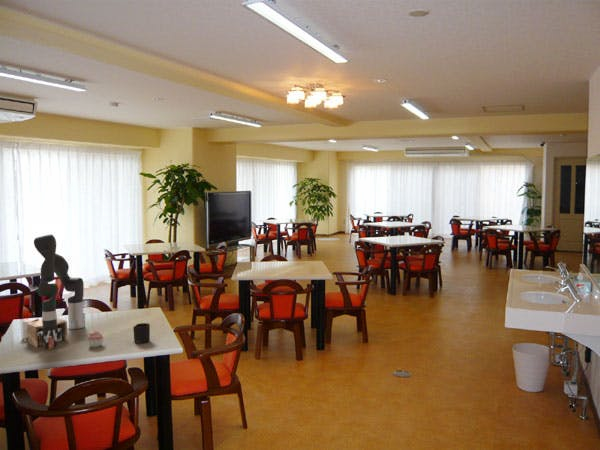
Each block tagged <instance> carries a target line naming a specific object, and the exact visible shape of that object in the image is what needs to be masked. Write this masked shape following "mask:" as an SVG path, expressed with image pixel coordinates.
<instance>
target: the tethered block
mask: <svg viewBox="0 0 600 450" xmlns="http://www.w3.org/2000/svg"><path fill="white" fill-rule="evenodd" d="M44 336H45V334H43V335H42V337H43V339H44ZM39 346H40V347H41V346H44V347H45V343H44V342H41V341H40V339H39V336H38V347H39ZM53 350H55V347H54V337H53V336H49V339H48V349H47V351H53Z"/></svg>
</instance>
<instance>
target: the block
mask: <svg viewBox="0 0 600 450" xmlns="http://www.w3.org/2000/svg"><path fill="white" fill-rule="evenodd" d="M55 334H56V337H57V334H58V331H57V332H56V333H55ZM62 341H63V339H62V334H61V337H60V339H58V340H57V343H58V342H62Z"/></svg>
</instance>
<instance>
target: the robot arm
mask: <svg viewBox="0 0 600 450" xmlns="http://www.w3.org/2000/svg"><path fill="white" fill-rule="evenodd" d="M33 244H34V247H35V249H36V251H37V252H38V253H39V254H40V255H41V256H42V258H44V260H43V262H42V264H41V266H40V282H39V284H38V288H37V294H38V296H40V297H43V298H45V297H50V298H49V299H46V300H43V301H42V302H41V305H42V306H41V309H42V311H41V312H42V313H41V314H42V315H41V320H42V325H43V329H42V331H41V332H38V333H37V334H38V336H39V339H40V341H41V342H44V343H45V346H44V348H45V349H46V350H48V339H49V336H53V337H54V348H57V347H58V346H57V345H58V342H57V340H58V339H60V337H61V334H62V331H63V329H61V328H58V327H57V317H58V315H57V310H56V309H57V304H56V303H57V298H58V297H57V296H58V293H59V286H58V284H57V283H51V282H53V281H55V274H56V276H57V278H58V279H59V280H60V282H61V285H62V287H63V288H64V289H65V290H66V292H70V293H71V292H72V293H74V295H73V296H69V297H68V298H67V313H68V314H67V315H68V316H67V317H68V329H69V330H79V329H83V328H85V327H86V317H85V316H86V315H85V312H84V295H85V294H84V292H85V291H84V289H85V288H84V287H85V286H84V280H83V278H81V277H71V276H69V266H70V265H69V263H68V261H67V260H66V259H65V258H64V257H63V256H62V255H60V254H58V253H56V251H57V241H56V238H55V236H54V235H53V234H45V235H42V236H38V237H35V238H34V240H33ZM57 330H58V334H57V337H56V334H55V333H56V332H57ZM42 333H44V334H45V336H44V339H43V337H42V335H43V334H42Z"/></svg>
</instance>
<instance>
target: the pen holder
mask: <svg viewBox="0 0 600 450" xmlns="http://www.w3.org/2000/svg"><path fill="white" fill-rule="evenodd" d="M132 329H133V338H134V339H133V341H134V343H135V344H137V345H138V344H139V345H140V344H146V343H149V342H150V338H151V337H150V336H151V335H150V334H151V332H150V330H151V327H150V324H149V323H143V322H140V323H138V324H137V323H136V325H134V326H133V328H132Z"/></svg>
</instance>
